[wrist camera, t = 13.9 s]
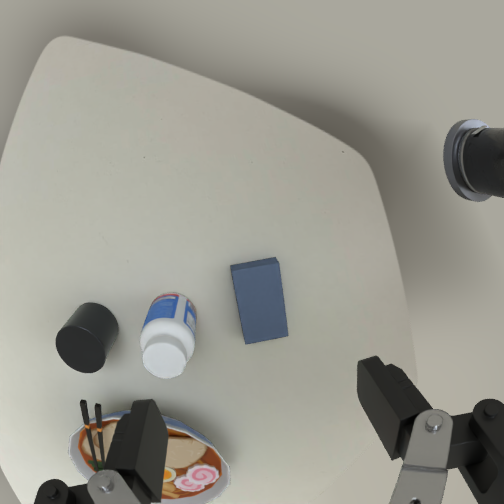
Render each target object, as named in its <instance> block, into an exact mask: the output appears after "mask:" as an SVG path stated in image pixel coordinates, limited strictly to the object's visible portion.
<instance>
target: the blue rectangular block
mask: <svg viewBox="0 0 504 504" xmlns="http://www.w3.org/2000/svg"><path fill="white" fill-rule="evenodd" d="M230 267H231V273H232V278H233V283H234V289H235V294H236V299H237V304H238V309H239V315H240V320H241V325H242V330H243V335H244V340H245V344H251V343H256V342H261V341H266V340H271V339H276V338H281V337H286V336H288V328H287V320H286V312H285V304H284V297H283V289H282V282H281V274H280V267H279V262H278V261H277V259H276V257H274V258H268V259H263V260H257V261H252V262H247V263H241V264H236V265H231V266H230Z"/></svg>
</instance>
